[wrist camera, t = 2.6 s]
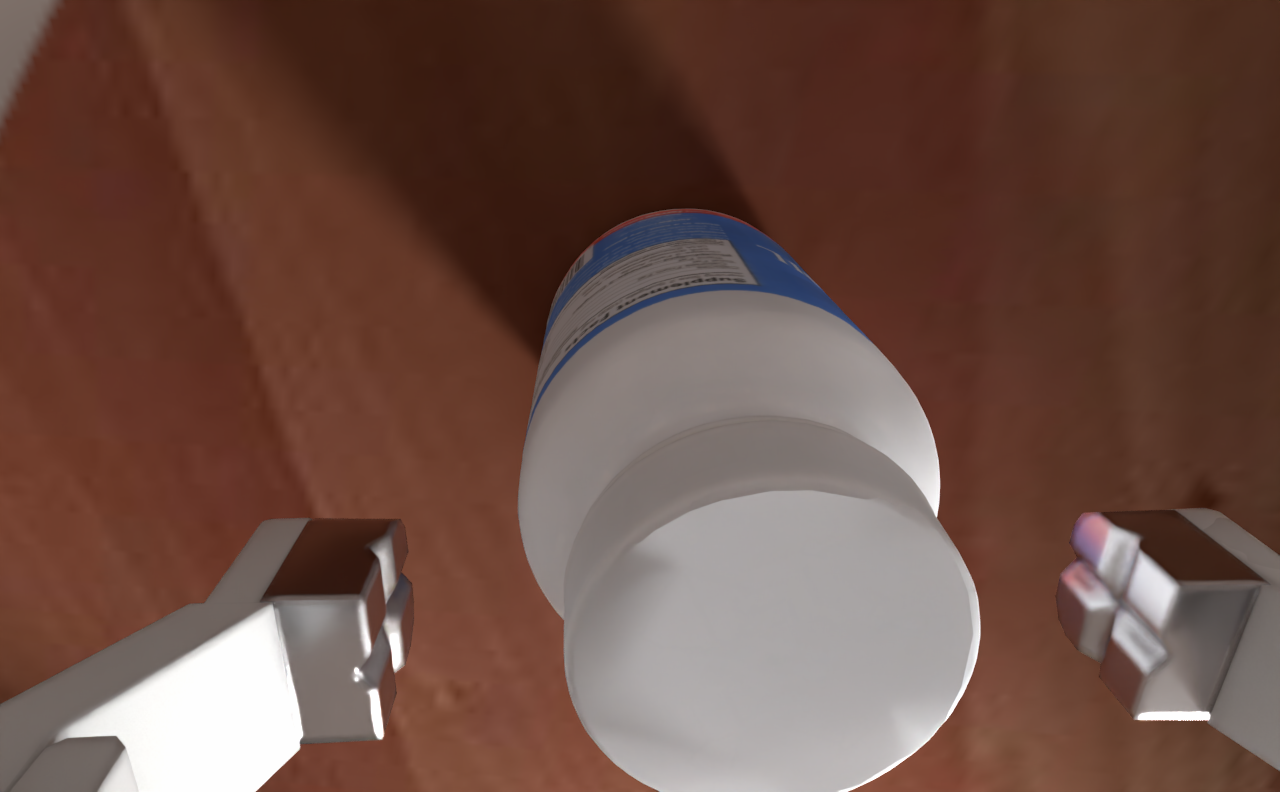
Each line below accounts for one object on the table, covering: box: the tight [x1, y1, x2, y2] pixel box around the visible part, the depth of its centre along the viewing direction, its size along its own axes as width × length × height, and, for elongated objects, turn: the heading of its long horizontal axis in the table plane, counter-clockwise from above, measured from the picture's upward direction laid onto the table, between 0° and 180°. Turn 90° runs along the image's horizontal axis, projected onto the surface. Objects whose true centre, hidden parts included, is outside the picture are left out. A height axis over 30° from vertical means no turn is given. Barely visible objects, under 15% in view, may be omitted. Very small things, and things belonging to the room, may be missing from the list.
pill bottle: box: [518, 209, 980, 792], centre depth 12 cm, size 6×5×10 cm
